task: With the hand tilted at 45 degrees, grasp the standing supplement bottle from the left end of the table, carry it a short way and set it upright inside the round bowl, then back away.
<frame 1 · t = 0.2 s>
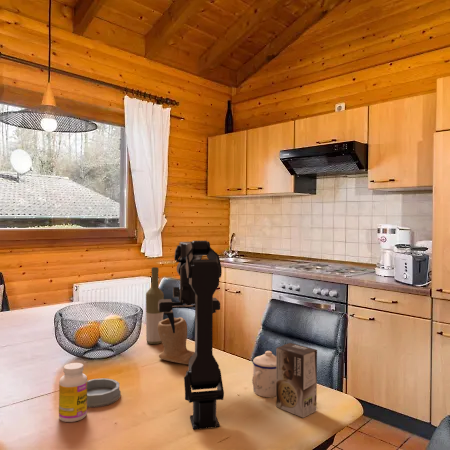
hand: (188, 332, 130), 15 cm above the table, tool pointing down, fingers open, 9 cm apart
supplement bottle: (73, 417, 105), on the table
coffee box: (295, 409, 111), on the table
bottle: (154, 343, 168), on the table
tan boot-shaped piece: (177, 361, 147), on the table
round bowl: (97, 397, 117), on the table
teacup with lid: (265, 393, 121), on the table
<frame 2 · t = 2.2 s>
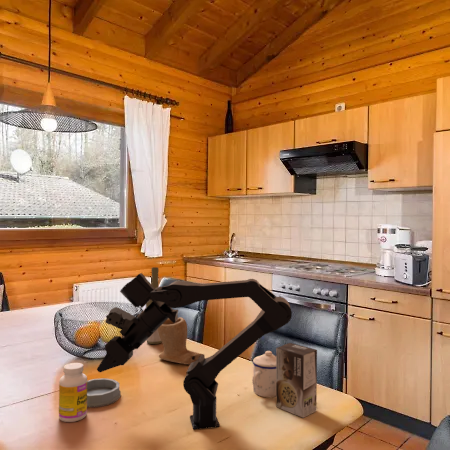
hand: (105, 364, 105), 13 cm above the table, tool tilted 45°, fingers open, 9 cm apart
nothing on the table moved.
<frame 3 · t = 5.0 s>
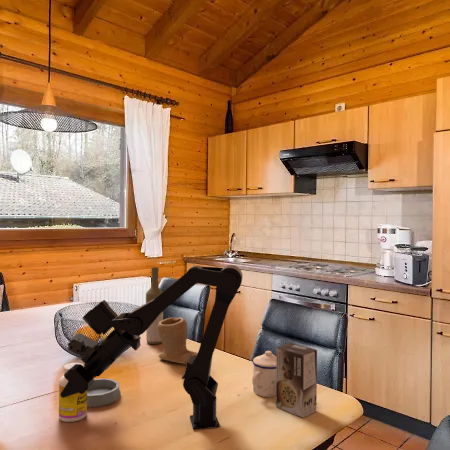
hand: (67, 390, 105), 7 cm above the table, tool tilted 45°, fingers closed on supplement bottle, 7 cm apart
supplement bottle: (73, 417, 105), on the table, touching gripper
everything else where it was.
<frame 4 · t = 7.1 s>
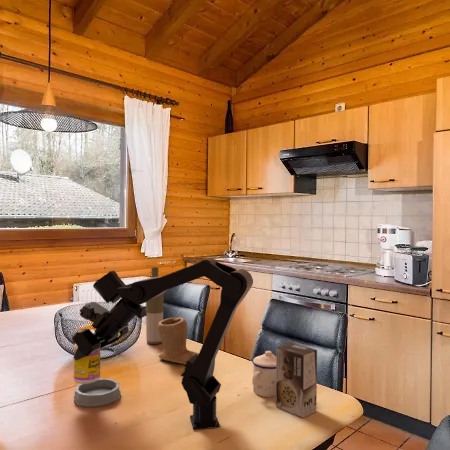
hand: (82, 354, 113), 13 cm above the table, tool tilted 45°, fingers closed on supplement bottle, 7 cm apart
supplement bottle: (87, 380, 112), point 6 cm above the table, touching gripper
everything else where it was.
when the fingers open (9 cm above the table, at t = 9.2 s): supplement bottle drops 1 cm, resting on round bowl.
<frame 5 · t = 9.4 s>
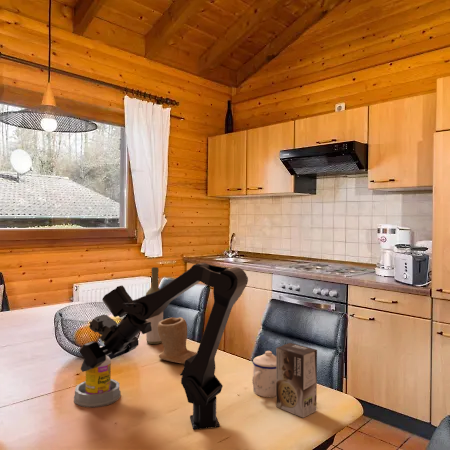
hand: (93, 364, 117), 9 cm above the table, tool tilted 45°, fingers open, 9 cm apart
supplement bottle: (98, 395, 117), point 1 cm above the table, touching round bowl
everything else where it was.
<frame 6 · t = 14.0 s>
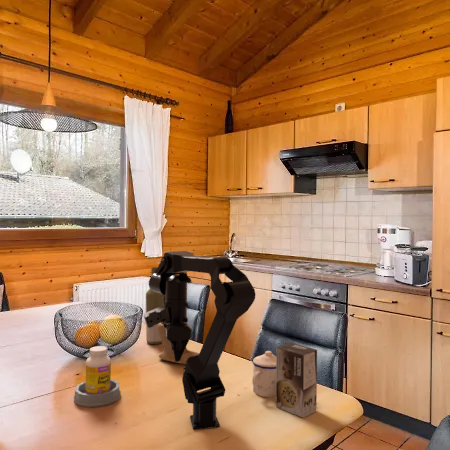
hand: (175, 355, 113), 13 cm above the table, tool pointing down, fingers open, 9 cm apart
nothing on the table moved.
at the end: supplement bottle 0.2 cm off-centre on the round bowl, point 0.6 cm above the round bowl's base; supplement bottle tilted 0°; the gripper is holding nothing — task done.
